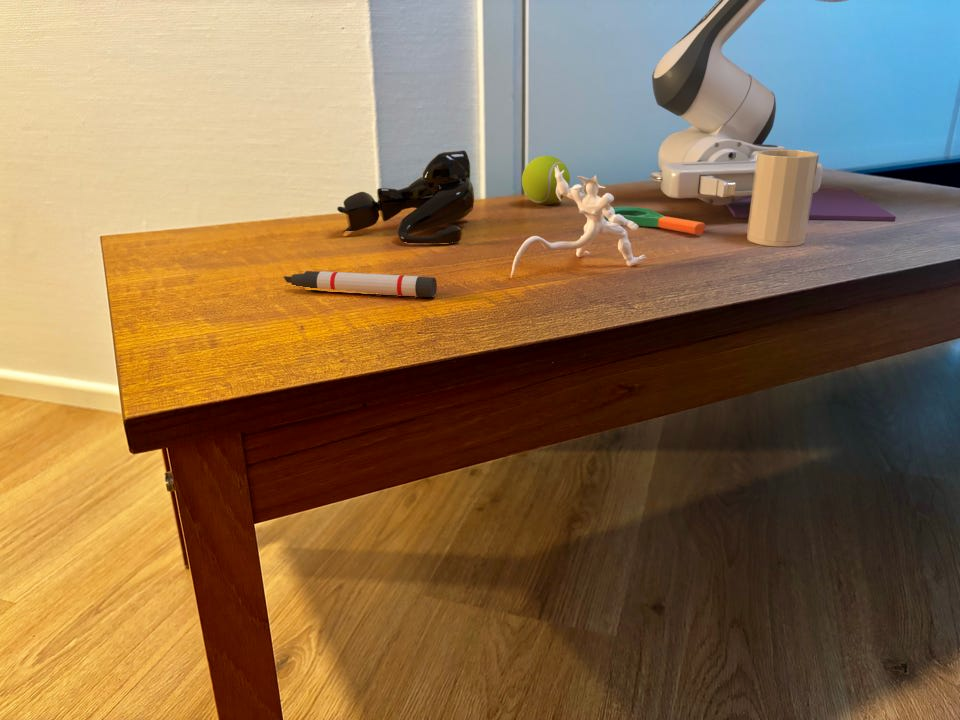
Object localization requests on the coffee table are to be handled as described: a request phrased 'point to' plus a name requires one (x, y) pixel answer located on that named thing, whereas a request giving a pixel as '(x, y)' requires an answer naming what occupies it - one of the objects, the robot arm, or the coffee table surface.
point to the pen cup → (781, 197)
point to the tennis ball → (543, 179)
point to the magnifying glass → (659, 220)
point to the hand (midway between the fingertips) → (767, 188)
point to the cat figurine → (420, 201)
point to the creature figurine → (589, 221)
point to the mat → (829, 207)
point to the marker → (367, 283)
